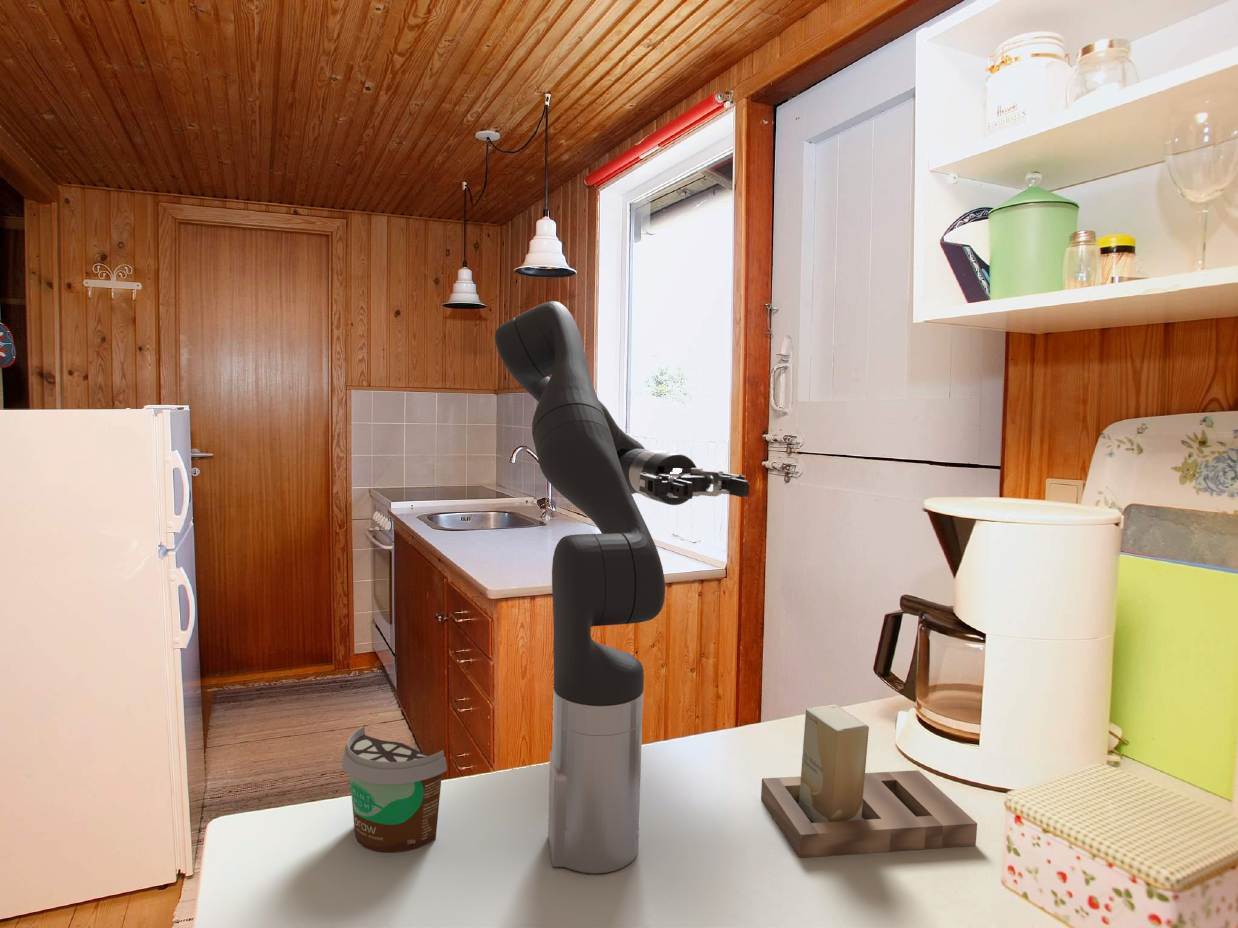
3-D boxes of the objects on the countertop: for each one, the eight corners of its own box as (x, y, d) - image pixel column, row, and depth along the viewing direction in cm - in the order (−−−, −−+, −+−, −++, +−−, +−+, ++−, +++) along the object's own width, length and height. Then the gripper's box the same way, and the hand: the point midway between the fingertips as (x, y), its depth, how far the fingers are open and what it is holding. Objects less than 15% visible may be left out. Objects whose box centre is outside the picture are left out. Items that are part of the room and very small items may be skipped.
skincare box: (796, 808, 92) (802, 706, 91) (828, 802, 93) (834, 702, 92) (830, 838, 86) (836, 729, 85) (863, 831, 87) (870, 724, 86)
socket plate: (799, 857, 83) (800, 834, 82) (760, 798, 94) (762, 778, 94) (975, 845, 86) (977, 823, 86) (917, 789, 98) (918, 770, 97)
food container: (316, 837, 84) (315, 746, 83) (360, 810, 89) (360, 724, 88) (405, 873, 78) (405, 775, 77) (446, 842, 84) (447, 751, 83)
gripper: (620, 451, 116) (672, 462, 101) (704, 451, 122) (765, 461, 107) (618, 502, 117) (670, 520, 102) (702, 499, 123) (763, 516, 108)
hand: (719, 490), depth 105 cm, fingers open, 8 cm apart
